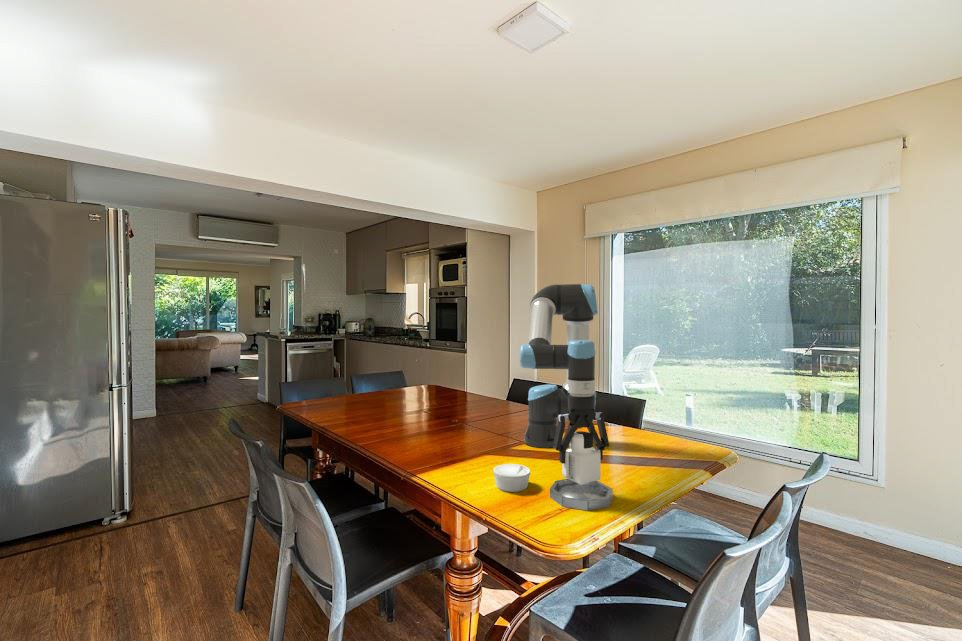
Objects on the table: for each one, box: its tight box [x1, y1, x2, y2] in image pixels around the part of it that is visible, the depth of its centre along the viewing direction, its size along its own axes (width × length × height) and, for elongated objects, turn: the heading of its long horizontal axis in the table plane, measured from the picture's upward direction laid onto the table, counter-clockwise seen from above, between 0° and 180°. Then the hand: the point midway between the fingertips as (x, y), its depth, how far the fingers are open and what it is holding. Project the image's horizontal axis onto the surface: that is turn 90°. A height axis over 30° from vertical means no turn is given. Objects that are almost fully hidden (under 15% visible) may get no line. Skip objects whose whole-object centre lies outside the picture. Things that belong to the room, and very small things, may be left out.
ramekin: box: [493, 463, 531, 493], centre depth 138 cm, size 11×11×5 cm
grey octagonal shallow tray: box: [549, 478, 614, 511], centre depth 130 cm, size 17×17×2 cm
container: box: [562, 430, 602, 484], centre depth 130 cm, size 8×8×13 cm
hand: (581, 472), depth 130 cm, fingers closed on container, 9 cm apart
